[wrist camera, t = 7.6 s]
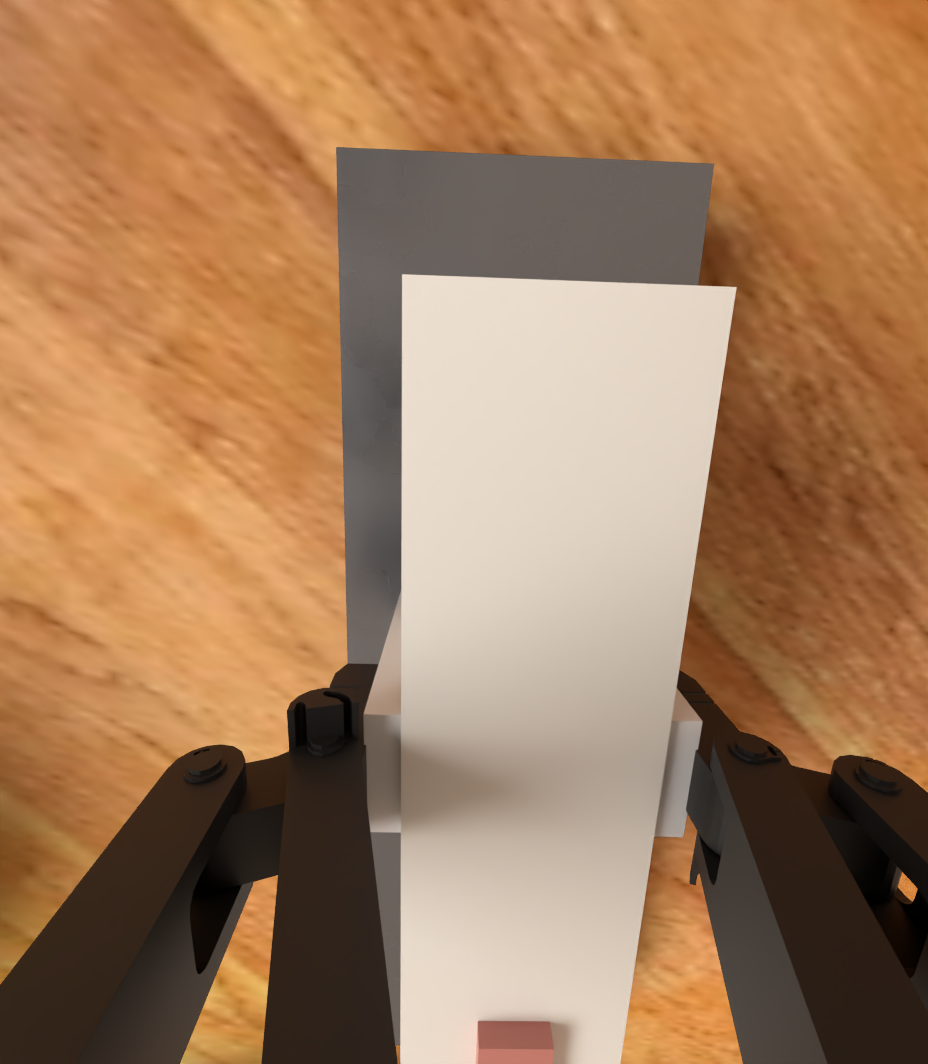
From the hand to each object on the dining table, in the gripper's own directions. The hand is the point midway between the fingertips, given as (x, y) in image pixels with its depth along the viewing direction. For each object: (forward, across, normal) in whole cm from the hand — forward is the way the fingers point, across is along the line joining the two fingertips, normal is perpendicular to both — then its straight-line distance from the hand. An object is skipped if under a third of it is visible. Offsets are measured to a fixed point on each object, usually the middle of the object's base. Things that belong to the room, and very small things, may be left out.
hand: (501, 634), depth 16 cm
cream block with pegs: (+3, 0, 0) cm, 3 cm away
